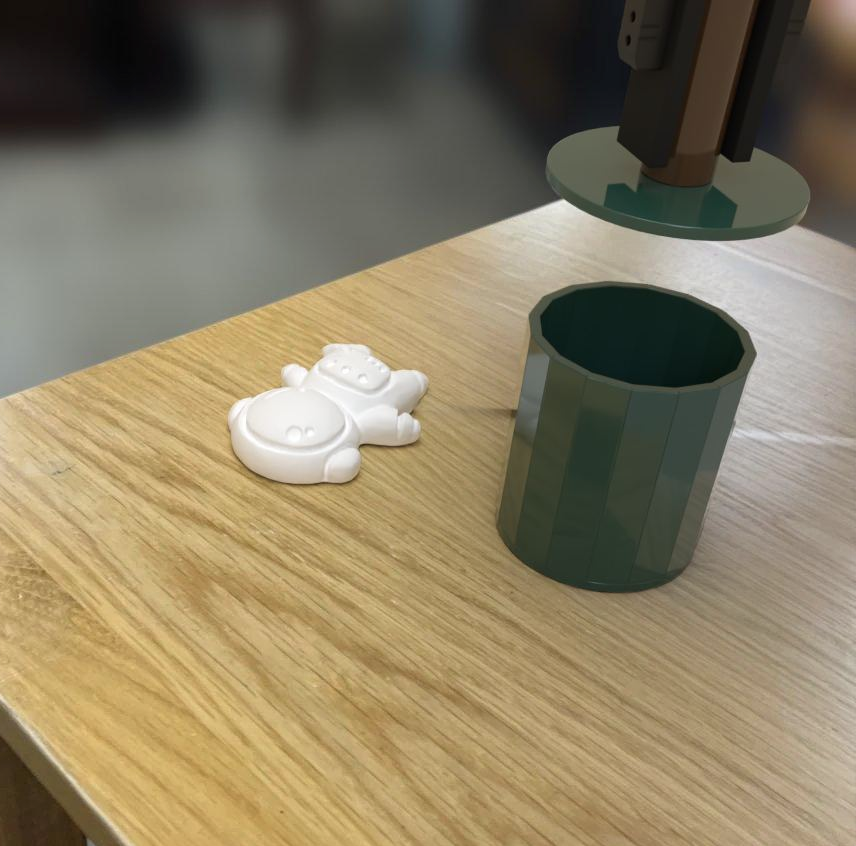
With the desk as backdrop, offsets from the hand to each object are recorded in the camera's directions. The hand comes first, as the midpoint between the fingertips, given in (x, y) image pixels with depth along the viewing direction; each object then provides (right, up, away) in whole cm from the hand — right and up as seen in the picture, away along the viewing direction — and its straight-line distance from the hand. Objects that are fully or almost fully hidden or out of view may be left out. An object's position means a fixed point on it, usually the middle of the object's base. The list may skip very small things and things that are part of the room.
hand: (682, 149), depth 47 cm
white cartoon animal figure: (-13, -9, +18) cm, 24 cm away
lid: (0, -1, +1) cm, 1 cm away
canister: (-1, -14, +12) cm, 18 cm away
